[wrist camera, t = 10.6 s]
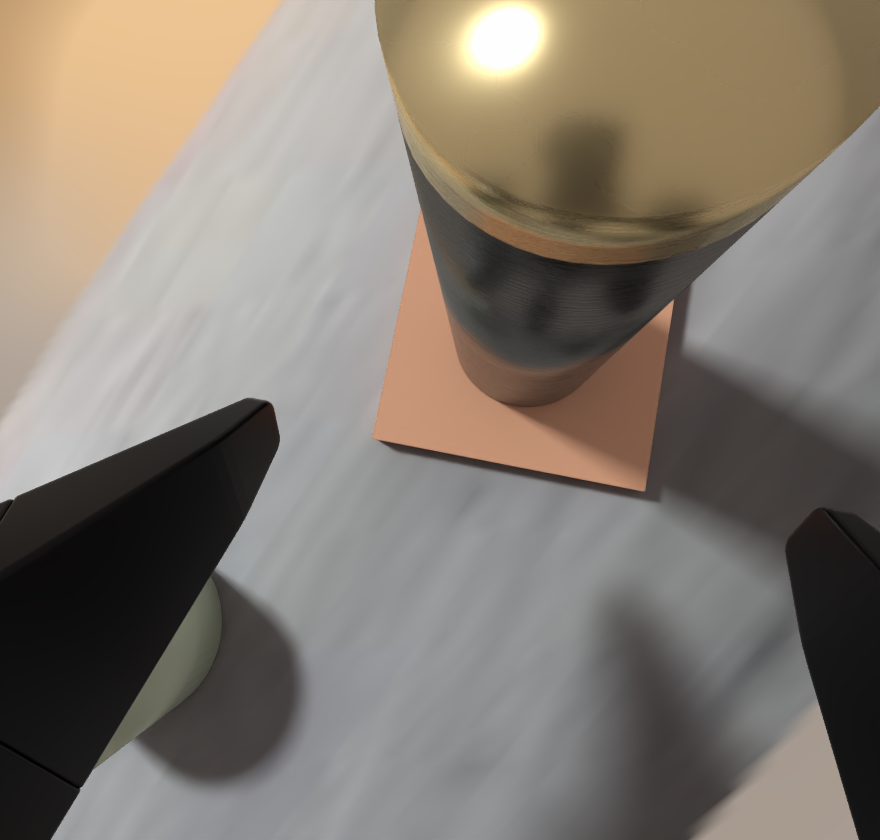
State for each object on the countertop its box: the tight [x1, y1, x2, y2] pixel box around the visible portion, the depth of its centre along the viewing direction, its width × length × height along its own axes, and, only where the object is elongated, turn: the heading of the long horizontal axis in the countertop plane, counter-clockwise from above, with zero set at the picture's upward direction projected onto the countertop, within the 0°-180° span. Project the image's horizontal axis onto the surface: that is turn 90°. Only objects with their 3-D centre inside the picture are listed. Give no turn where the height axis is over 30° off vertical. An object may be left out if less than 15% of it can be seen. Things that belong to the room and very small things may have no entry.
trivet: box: [372, 210, 674, 492], centre depth 17 cm, size 10×10×1 cm
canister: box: [375, 0, 880, 407], centre depth 11 cm, size 5×5×12 cm
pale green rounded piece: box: [93, 576, 222, 769], centre depth 16 cm, size 7×7×4 cm
